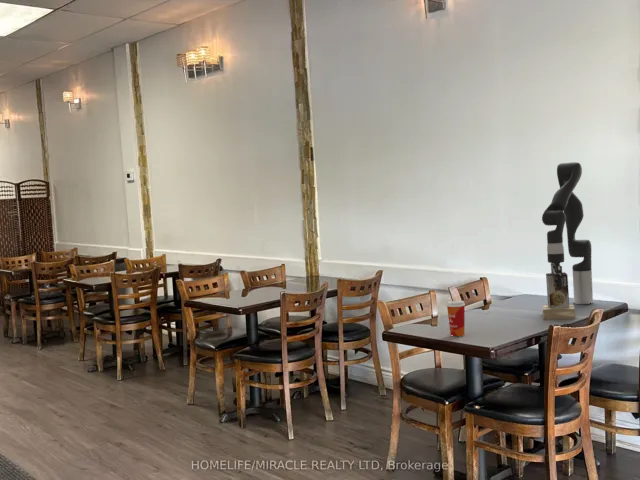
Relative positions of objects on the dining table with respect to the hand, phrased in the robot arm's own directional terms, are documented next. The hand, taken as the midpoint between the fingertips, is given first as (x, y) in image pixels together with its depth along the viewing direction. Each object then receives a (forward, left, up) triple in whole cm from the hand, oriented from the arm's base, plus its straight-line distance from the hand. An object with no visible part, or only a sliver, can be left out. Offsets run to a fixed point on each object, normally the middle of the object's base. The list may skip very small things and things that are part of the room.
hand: (557, 285), depth 318 cm
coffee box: (0, 0, -10) cm, 10 cm away
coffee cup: (+33, -49, -15) cm, 61 cm away
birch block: (0, 0, -15) cm, 15 cm away
